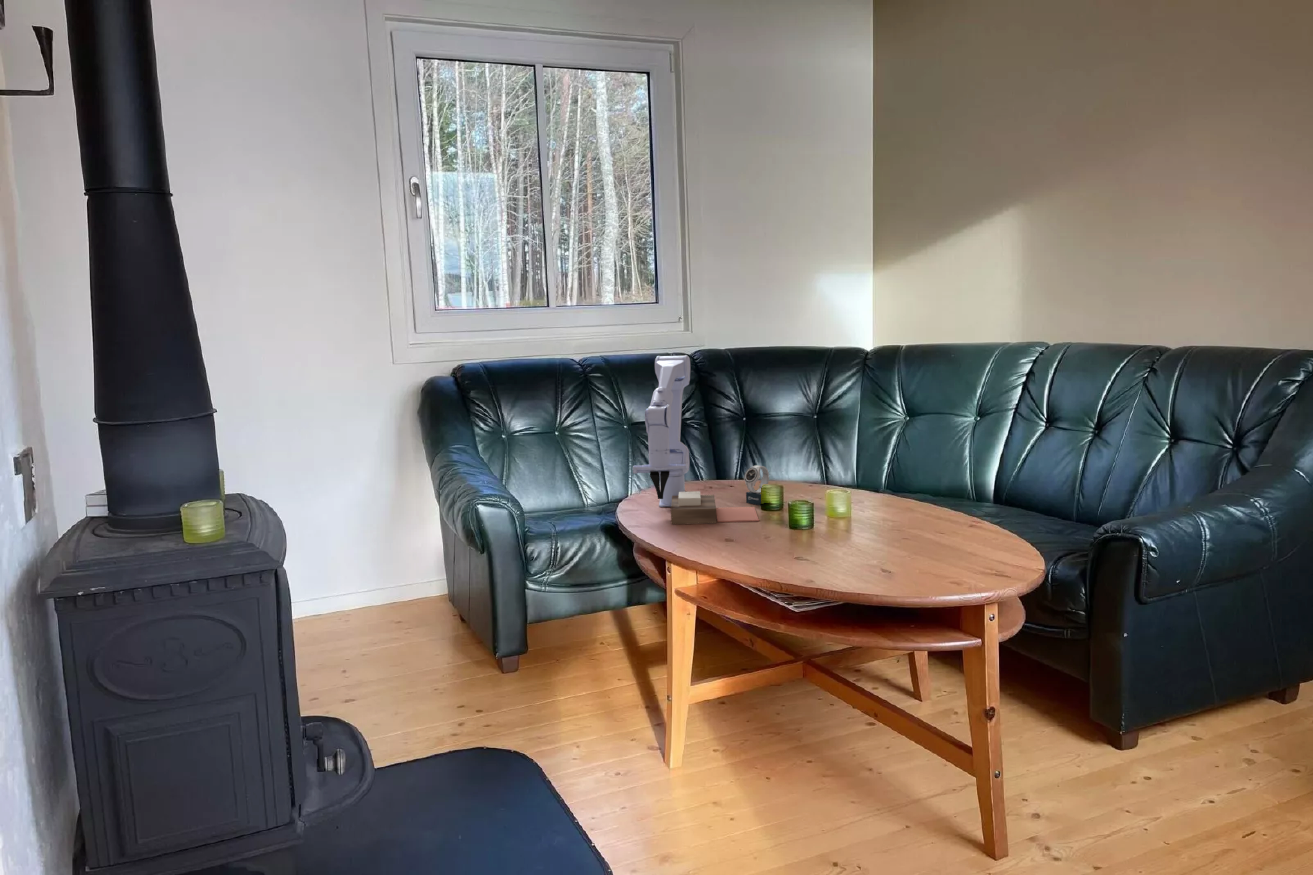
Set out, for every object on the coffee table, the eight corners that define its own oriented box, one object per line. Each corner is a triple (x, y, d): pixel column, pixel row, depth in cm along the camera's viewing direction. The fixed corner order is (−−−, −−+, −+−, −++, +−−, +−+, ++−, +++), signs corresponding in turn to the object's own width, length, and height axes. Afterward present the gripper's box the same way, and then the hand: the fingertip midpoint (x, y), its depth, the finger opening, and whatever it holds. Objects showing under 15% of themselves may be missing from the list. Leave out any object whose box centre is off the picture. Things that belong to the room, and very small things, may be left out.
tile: (678, 498, 237) (678, 491, 237) (700, 498, 237) (700, 491, 236) (678, 505, 228) (678, 498, 228) (700, 505, 228) (700, 497, 228)
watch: (741, 503, 246) (740, 466, 245) (760, 499, 252) (759, 463, 250) (756, 506, 242) (755, 468, 241) (774, 501, 247) (773, 465, 246)
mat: (715, 509, 241) (715, 507, 240) (754, 508, 240) (754, 506, 240) (717, 522, 225) (717, 520, 225) (758, 521, 224) (758, 519, 224)
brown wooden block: (672, 509, 242) (672, 495, 241) (714, 508, 242) (714, 494, 241) (671, 524, 224) (670, 509, 224) (716, 523, 224) (716, 508, 223)
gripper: (631, 452, 227) (633, 501, 229) (685, 451, 226) (686, 500, 228) (633, 448, 234) (635, 496, 236) (685, 447, 233) (686, 495, 235)
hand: (660, 498), depth 232 cm, fingers closed
